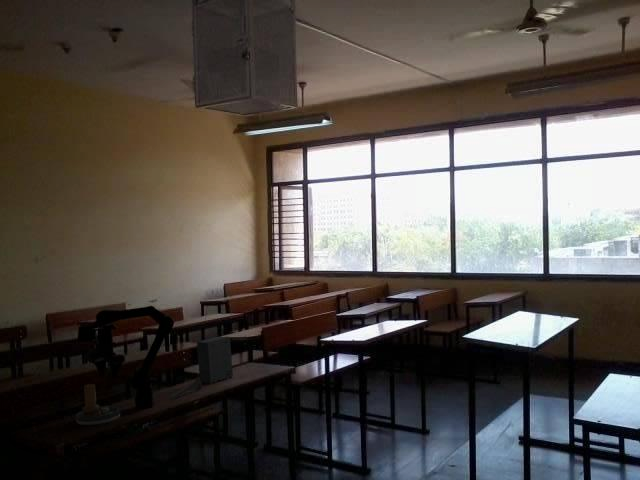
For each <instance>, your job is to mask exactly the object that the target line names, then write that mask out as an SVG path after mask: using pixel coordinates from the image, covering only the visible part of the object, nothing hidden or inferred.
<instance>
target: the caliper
mask: <svg viewBox="0 0 640 480" xmlns="http://www.w3.org/2000/svg"><path fill="white" fill-rule="evenodd" d="M194 389H195V390H196V391H197V392H198V391H200V390H202V383H201V380H200V376H196V377H195V379H194V381H192V382H190V383H189V384H188V385H187V386H185V387H184V388H182V389H181V390H179V391H177V392H176V393H175V394H172V395H171V396H170V397H169V398H168V400H167V401H174V400H175V399H177V398H179V397H181V395H183V394H185V393H186V392H188V391H193V390H194Z"/></svg>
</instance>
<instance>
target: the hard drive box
mask: <svg viewBox="0 0 640 480" xmlns="http://www.w3.org/2000/svg"><path fill="white" fill-rule="evenodd" d="M196 350H197V361H198V373H199V375H198V377H199V379H200V380H201V384H206V383H207V384H208V385H211V384H214V383H213V382H215V383H217V382H216V381H218V380H221V381H223V380H222V379H225V378H228V379H230V378H229V377H231V378H233V377H234V373H233V358H232V349H231V337H230V336H216V337H213V338H208V339H204V340H200V341H199V340H198V341H196ZM232 376H233V377H232ZM225 380H226V379H225ZM218 382H219V381H218Z"/></svg>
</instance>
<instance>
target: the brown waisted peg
mask: <svg viewBox="0 0 640 480" xmlns="http://www.w3.org/2000/svg"><path fill="white" fill-rule="evenodd" d="M83 391H84V406H83V407H82V411H83V412H84V413H86V415H93V414H97V411H98V410H99V407H100V405H99V404H97V394H96V384H95V383H89V384H85V385H83Z"/></svg>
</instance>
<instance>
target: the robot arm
mask: <svg viewBox="0 0 640 480" xmlns="http://www.w3.org/2000/svg"><path fill="white" fill-rule="evenodd" d="M142 317H149V318H151V319H153V320H154V321H155V322H156V323H157V324H158V327H157V332H156V335H155V337H154V339H153V341H152V343H151V345H150V348H149V350H148V352H147V353H146V357H144V360H143V362H142V364H141V365H140V367H139V368H138V367H135V369H134V373H133V374H132V375H131V377H130V380H131V381H130V385H131V388H133V389H134V390H136V393H135V394H136V395H135V396H134V401H135V402H134V403H135V409H149V408H153V407H154V405H155V403H156V402H154V390H153V389H152V386H153V383H152V382H151V381H150V380H148V377H149V374H150V373H149V372H150V369H151V367H152V365H153V363H154V361H155V359H156V357H157V354H158V353H159V351H160V348H161V347H162V344H163V343H164V340H165V339H166V337H168V335H169V333H170V332H171V331H172V329H173V327H174V324H175V320H174V317H173V316H171V315H166V314H164V313H163V312H161V311H160V310H159V309H157V308H156V307H155V306H153V305H148V306H144V307H135V308H128V309H121V310H120V309H119V310H118V309H102V310H100V311H99V312H97V314H96V316H95V321H94V323H92V325H85V326H84V325H80V326H79V325H78V332H77V342H78V343H79V344H83V343H84V344H85V343H93V342H95V340H97V343H96V344H95V347H94V349H91V350H89V351H88V352H86V353H84V357H85V360H86V361H87V362H89V363H91V364H93V365H94V366H95V367H96V370H97V372H98V375H99V378H101V379H103V378H104V376H105V373H106V372H105V371H106V368H107V367H109V369H110V375H111V380H112V381H115V380H116V379H117V375H118V374H119V371H120V369H121V367H122V365H123V364H124V362H126V356H125V355H123V354H120V353H119V354H118V353H116V352H115V351H114V346H115V345H116V342H115V341H114V338H113V335H114V334H113V330H117V329H118V326H117V325H116V324H114V323H115V322H117V321H120V320H126V319H127V320H128V319H134V318H142ZM108 324H109V325H108ZM100 326H102V328H101V327H100Z"/></svg>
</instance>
